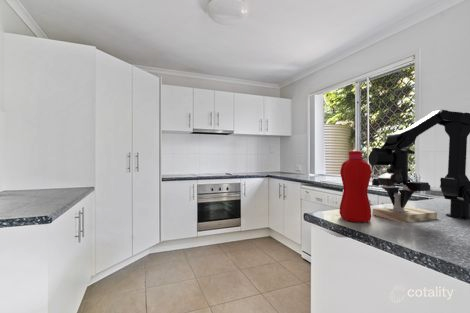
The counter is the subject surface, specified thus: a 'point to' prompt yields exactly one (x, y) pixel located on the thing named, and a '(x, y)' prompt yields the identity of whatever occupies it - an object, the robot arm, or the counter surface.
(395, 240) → the counter surface
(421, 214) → the socket block
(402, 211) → the rook chess piece
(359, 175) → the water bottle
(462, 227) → the counter surface
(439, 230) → the counter surface
